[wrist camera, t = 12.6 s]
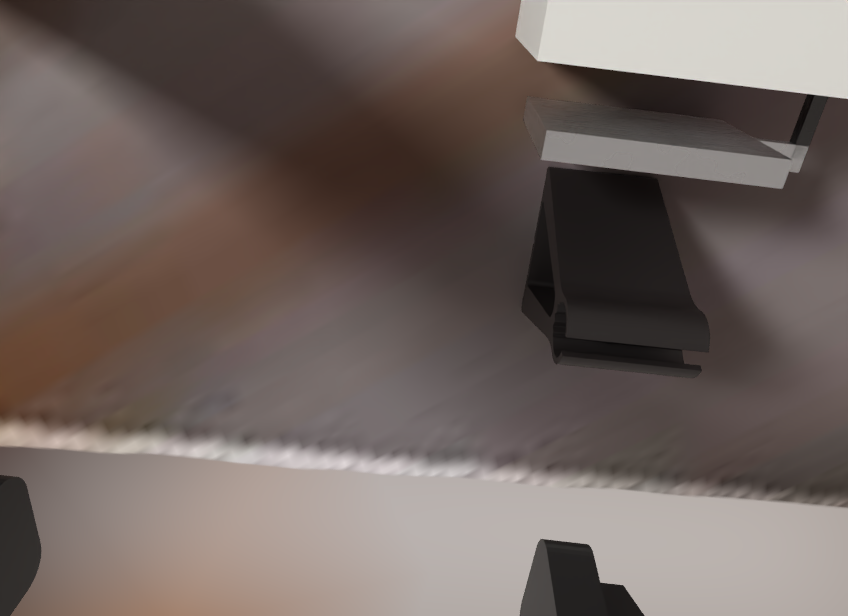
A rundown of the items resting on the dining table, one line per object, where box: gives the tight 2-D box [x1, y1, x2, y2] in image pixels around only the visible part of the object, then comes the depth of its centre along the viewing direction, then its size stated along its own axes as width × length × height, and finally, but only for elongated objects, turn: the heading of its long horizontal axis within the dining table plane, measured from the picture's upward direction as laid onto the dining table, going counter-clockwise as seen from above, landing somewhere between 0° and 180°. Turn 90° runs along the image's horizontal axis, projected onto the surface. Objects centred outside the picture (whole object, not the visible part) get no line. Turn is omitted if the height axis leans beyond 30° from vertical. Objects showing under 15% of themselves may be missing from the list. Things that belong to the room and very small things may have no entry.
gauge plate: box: [523, 94, 828, 189], centre depth 28 cm, size 12×8×8 cm
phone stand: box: [522, 167, 710, 378], centre depth 32 cm, size 9×6×12 cm, turn 174°
